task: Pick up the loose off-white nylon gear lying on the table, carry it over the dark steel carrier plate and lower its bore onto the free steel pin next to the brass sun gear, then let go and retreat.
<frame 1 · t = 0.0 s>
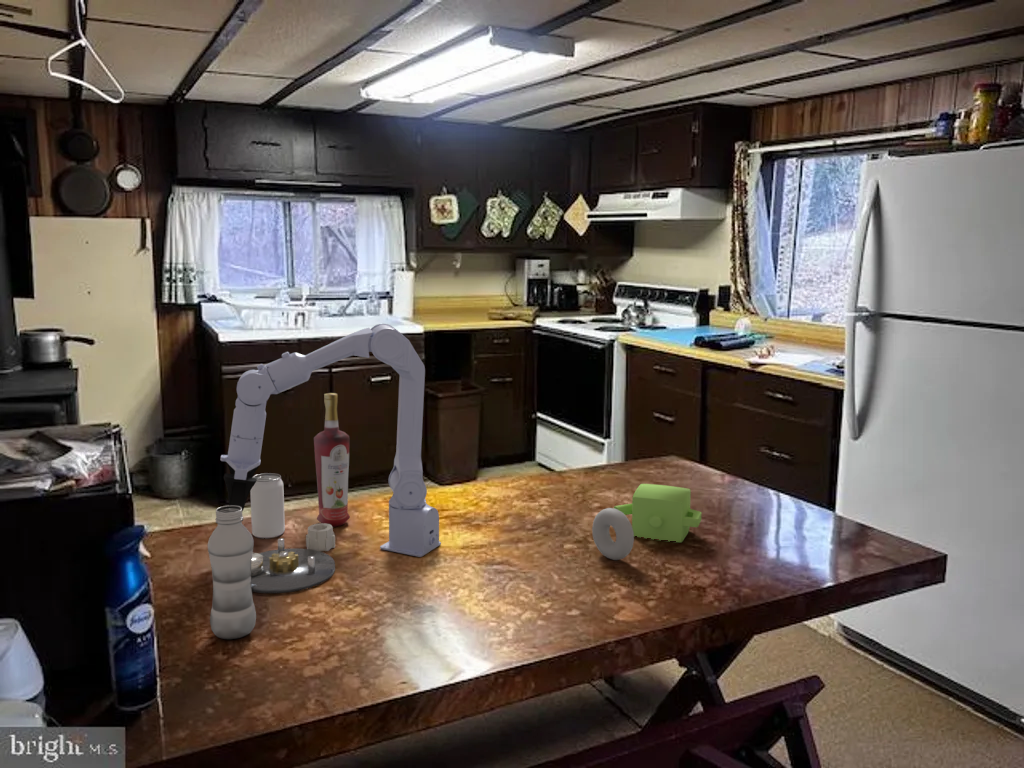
hand: (236, 506, 151), 11 cm above the table, tool pointing down, fingers open, 7 cm apart
gearbox: (655, 535, 171), on the table
donut: (611, 559, 157), on the table
carrier: (284, 572, 148), on the table
liquor: (333, 524, 174), on the table
plastic bottle: (234, 635, 125), on the table
can: (268, 534, 167), on the table
planet gear: (320, 546, 161), on the table
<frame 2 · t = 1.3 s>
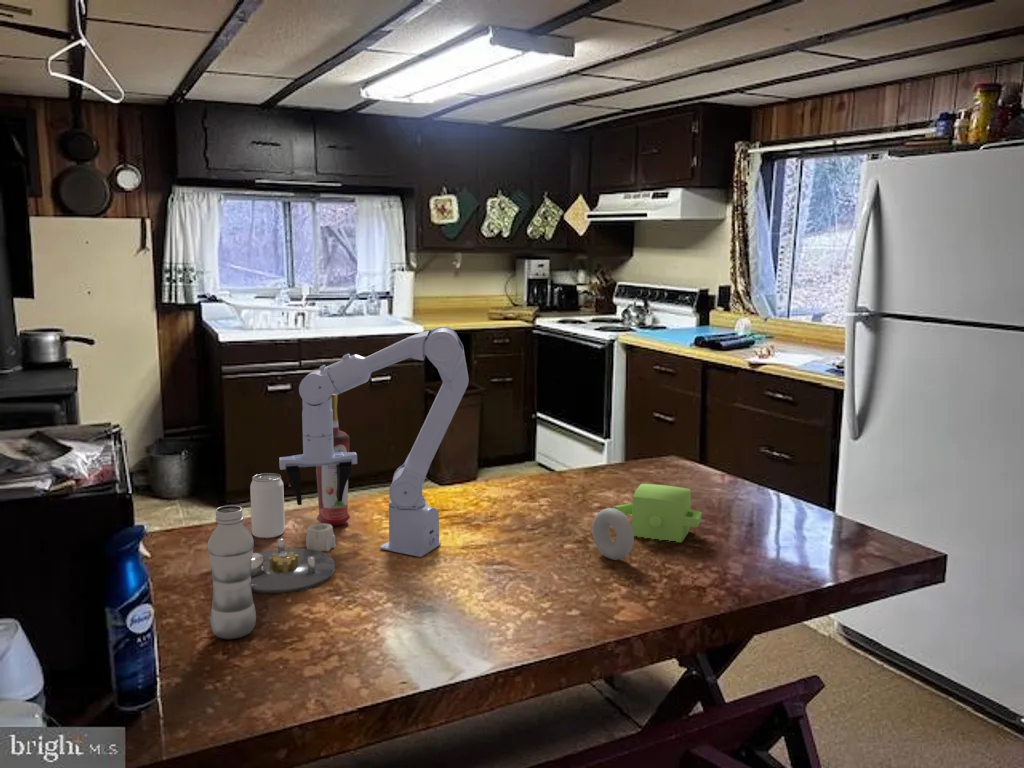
hand: (319, 501, 159), 9 cm above the table, tool pointing down, fingers open, 7 cm apart
nothing on the table moved.
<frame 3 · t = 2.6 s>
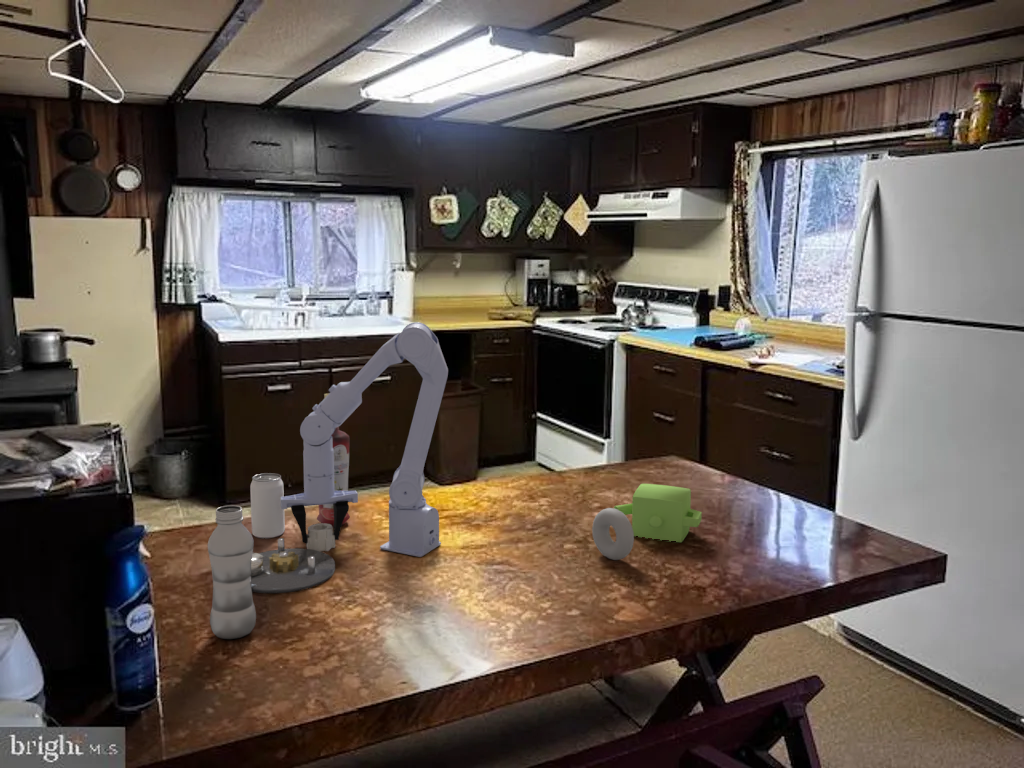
hand: (320, 539, 160), 1 cm above the table, tool pointing down, fingers closed on planet gear, 5 cm apart
planet gear: (320, 546, 161), on the table, touching gripper
everything else where it was.
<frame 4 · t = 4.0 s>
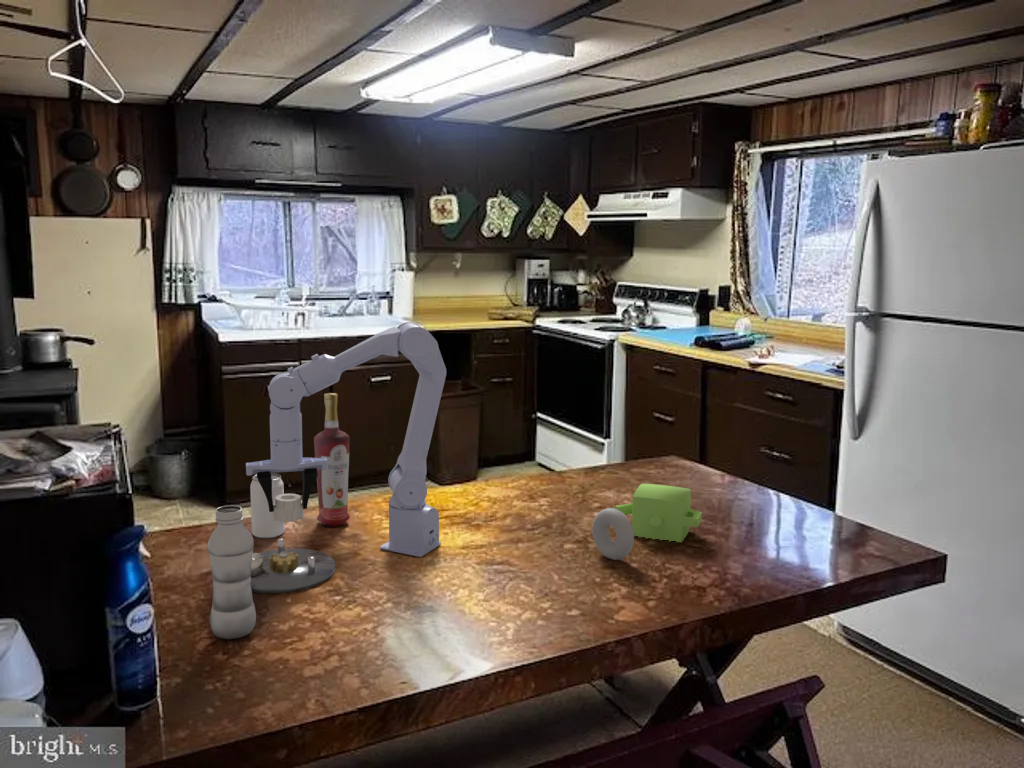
hand: (288, 508, 154), 10 cm above the table, tool pointing down, fingers closed on planet gear, 5 cm apart
planet gear: (288, 517, 154), point 8 cm above the table, touching gripper
everything else where it was.
when the fingers open (4 cm above the table, at t = 5.8 s): planet gear drops 1 cm, resting on carrier.
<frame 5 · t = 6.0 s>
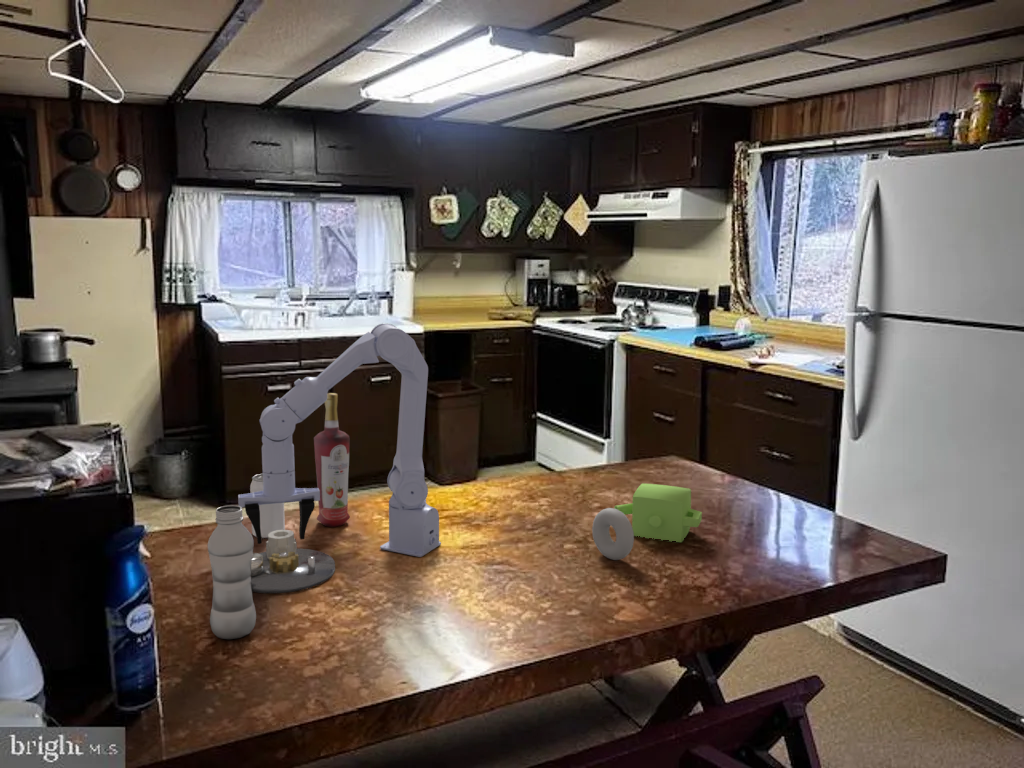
hand: (280, 539, 153), 4 cm above the table, tool pointing down, fingers open, 7 cm apart
planet gear: (281, 554, 154), point 1 cm above the table, touching carrier
everything else where it was.
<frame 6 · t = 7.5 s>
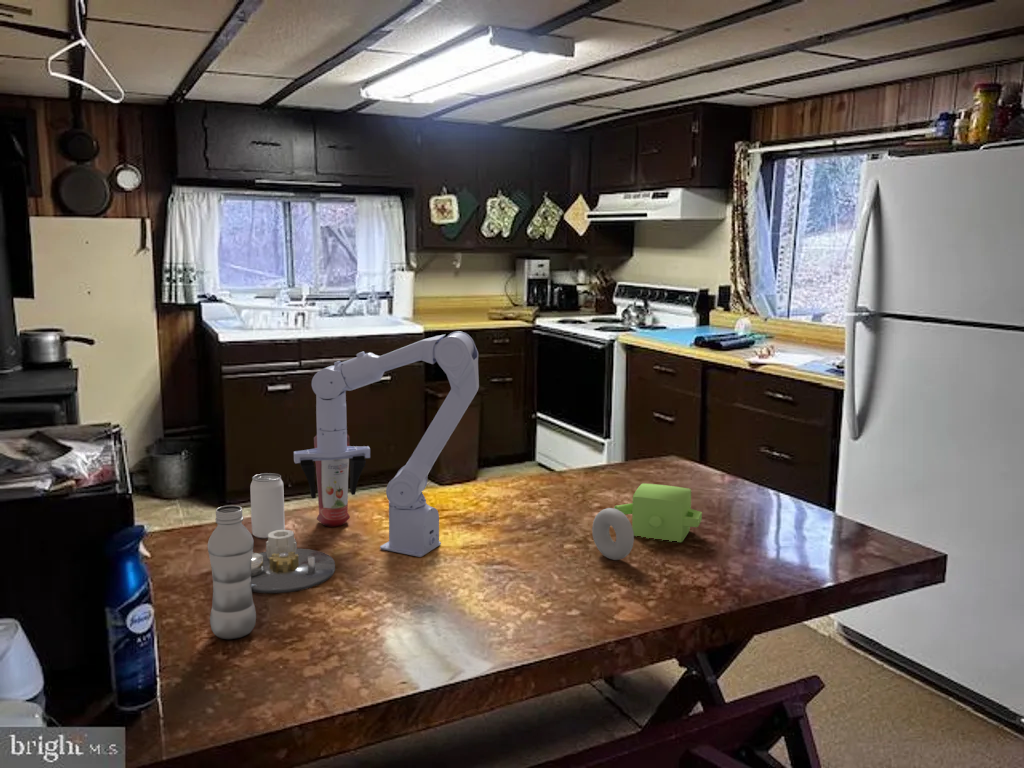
hand: (333, 495, 161), 10 cm above the table, tool pointing down, fingers open, 7 cm apart
nothing on the table moved.
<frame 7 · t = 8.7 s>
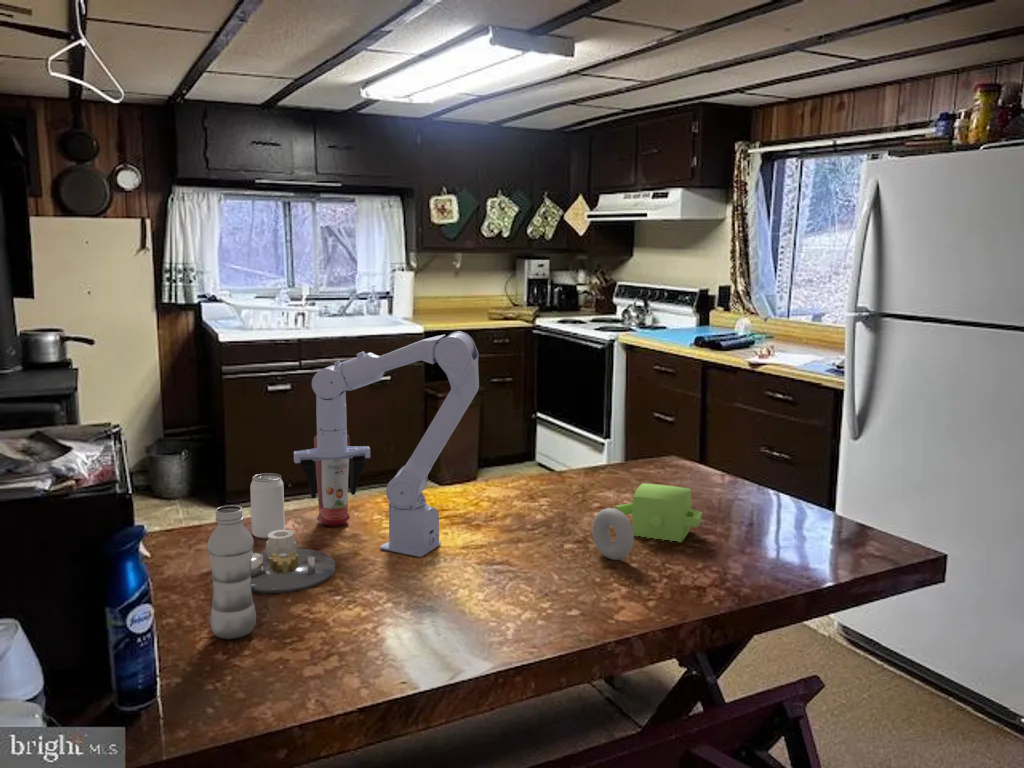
hand: (333, 495, 161), 10 cm above the table, tool pointing down, fingers open, 7 cm apart
nothing on the table moved.
at the end: planet gear 0.1 cm from the target spot on the carrier, point 1.0 cm above the carrier's base; planet gear tilted 0°; the gripper is holding nothing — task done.
